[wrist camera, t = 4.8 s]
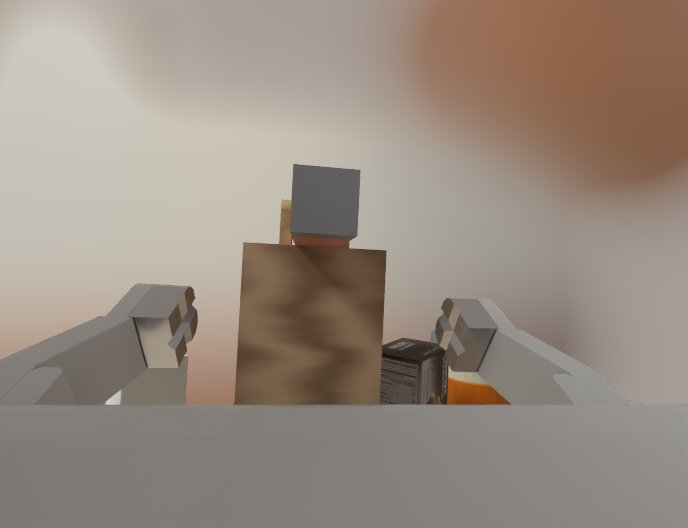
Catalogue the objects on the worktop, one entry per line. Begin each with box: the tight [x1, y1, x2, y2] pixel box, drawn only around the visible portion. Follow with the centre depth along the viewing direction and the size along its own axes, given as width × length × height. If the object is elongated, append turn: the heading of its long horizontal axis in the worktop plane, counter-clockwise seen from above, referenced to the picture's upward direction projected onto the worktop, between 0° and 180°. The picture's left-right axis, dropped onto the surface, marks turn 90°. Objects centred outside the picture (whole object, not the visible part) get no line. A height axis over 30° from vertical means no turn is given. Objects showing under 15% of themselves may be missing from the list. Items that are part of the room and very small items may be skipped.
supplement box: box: [106, 354, 188, 405], centre depth 40 cm, size 7×7×13 cm
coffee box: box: [380, 338, 449, 405], centre depth 36 cm, size 9×6×16 cm
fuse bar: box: [290, 164, 360, 248], centre depth 23 cm, size 3×18×3 cm, turn 7°
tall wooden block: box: [234, 200, 386, 405], centre depth 27 cm, size 10×10×30 cm
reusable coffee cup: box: [430, 330, 508, 405], centre depth 49 cm, size 12×12×15 cm
